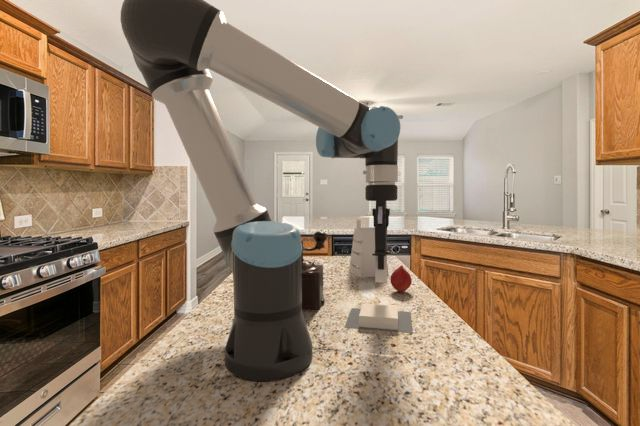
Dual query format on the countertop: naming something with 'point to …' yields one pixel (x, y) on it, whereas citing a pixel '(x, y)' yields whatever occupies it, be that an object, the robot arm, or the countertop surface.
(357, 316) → the mat
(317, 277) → the manual coffee grinder
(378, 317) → the tile
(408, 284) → the onion
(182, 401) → the countertop surface
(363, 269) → the grater
